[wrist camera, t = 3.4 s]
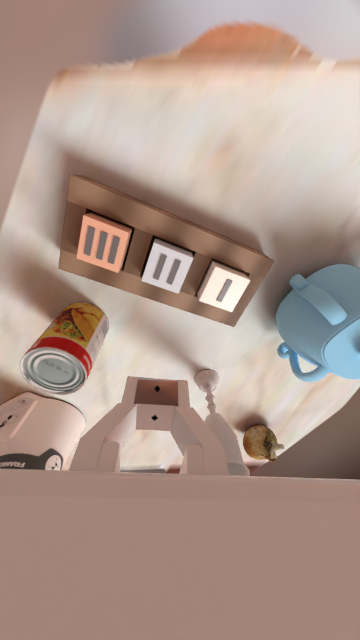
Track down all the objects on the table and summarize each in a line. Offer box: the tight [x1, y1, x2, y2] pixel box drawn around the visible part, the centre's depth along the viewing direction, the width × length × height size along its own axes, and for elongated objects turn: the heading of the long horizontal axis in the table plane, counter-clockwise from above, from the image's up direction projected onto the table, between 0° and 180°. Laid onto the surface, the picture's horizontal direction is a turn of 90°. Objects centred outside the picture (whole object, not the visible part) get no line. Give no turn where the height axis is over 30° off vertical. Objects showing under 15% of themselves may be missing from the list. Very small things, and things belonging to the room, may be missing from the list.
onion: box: [243, 425, 284, 462], centre depth 52 cm, size 8×8×8 cm
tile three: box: [77, 213, 132, 273], centre depth 27 cm, size 5×5×3 cm
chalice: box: [194, 370, 250, 476], centre depth 38 cm, size 7×7×18 cm
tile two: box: [142, 238, 193, 294], centre depth 29 cm, size 5×5×3 cm
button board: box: [58, 175, 274, 327], centre depth 31 cm, size 26×11×4 cm, turn 68°
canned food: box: [20, 302, 109, 395], centre depth 33 cm, size 8×8×12 cm
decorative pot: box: [276, 264, 360, 382], centre depth 32 cm, size 16×16×14 cm
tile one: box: [197, 260, 250, 312], centre depth 30 cm, size 5×5×3 cm
